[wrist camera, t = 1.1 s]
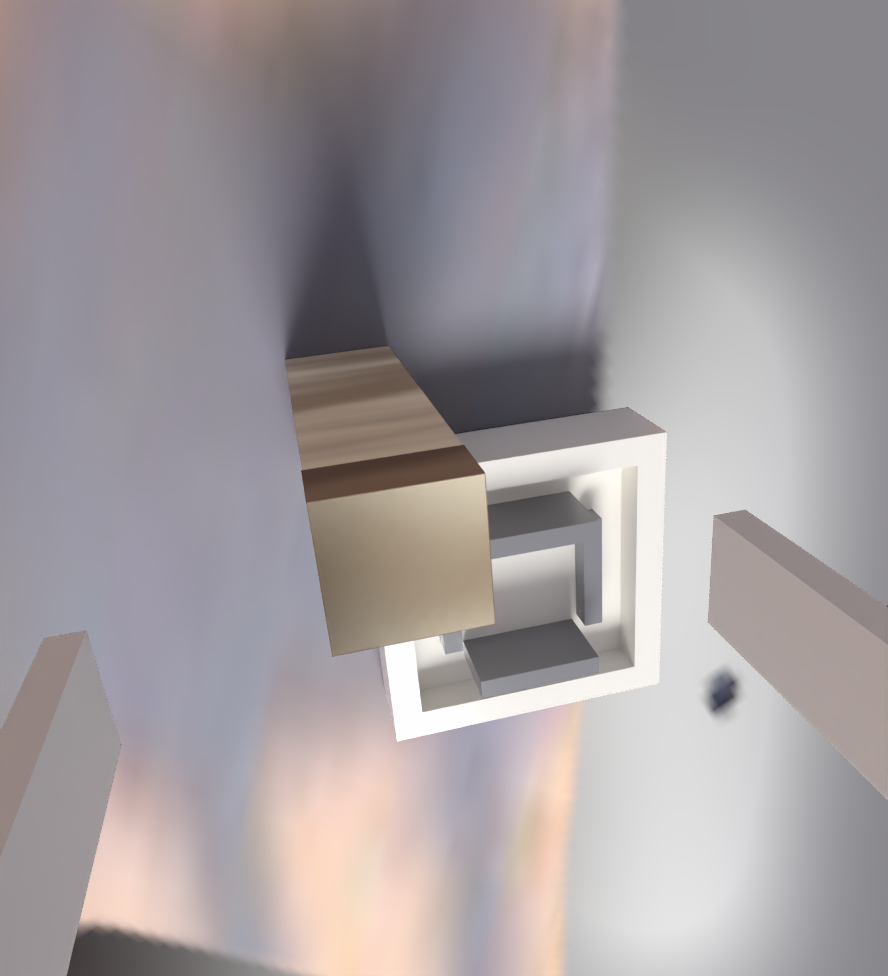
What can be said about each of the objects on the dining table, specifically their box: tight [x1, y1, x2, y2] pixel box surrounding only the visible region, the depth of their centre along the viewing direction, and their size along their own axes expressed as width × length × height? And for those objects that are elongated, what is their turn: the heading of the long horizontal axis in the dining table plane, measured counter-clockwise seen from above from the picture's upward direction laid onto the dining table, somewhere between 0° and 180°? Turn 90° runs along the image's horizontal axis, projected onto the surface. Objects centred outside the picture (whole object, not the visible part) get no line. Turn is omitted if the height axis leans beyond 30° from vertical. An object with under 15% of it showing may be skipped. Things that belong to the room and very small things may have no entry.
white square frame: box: [379, 407, 667, 741], centre depth 33 cm, size 12×12×5 cm
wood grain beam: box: [285, 346, 496, 657], centre depth 24 cm, size 4×4×14 cm
